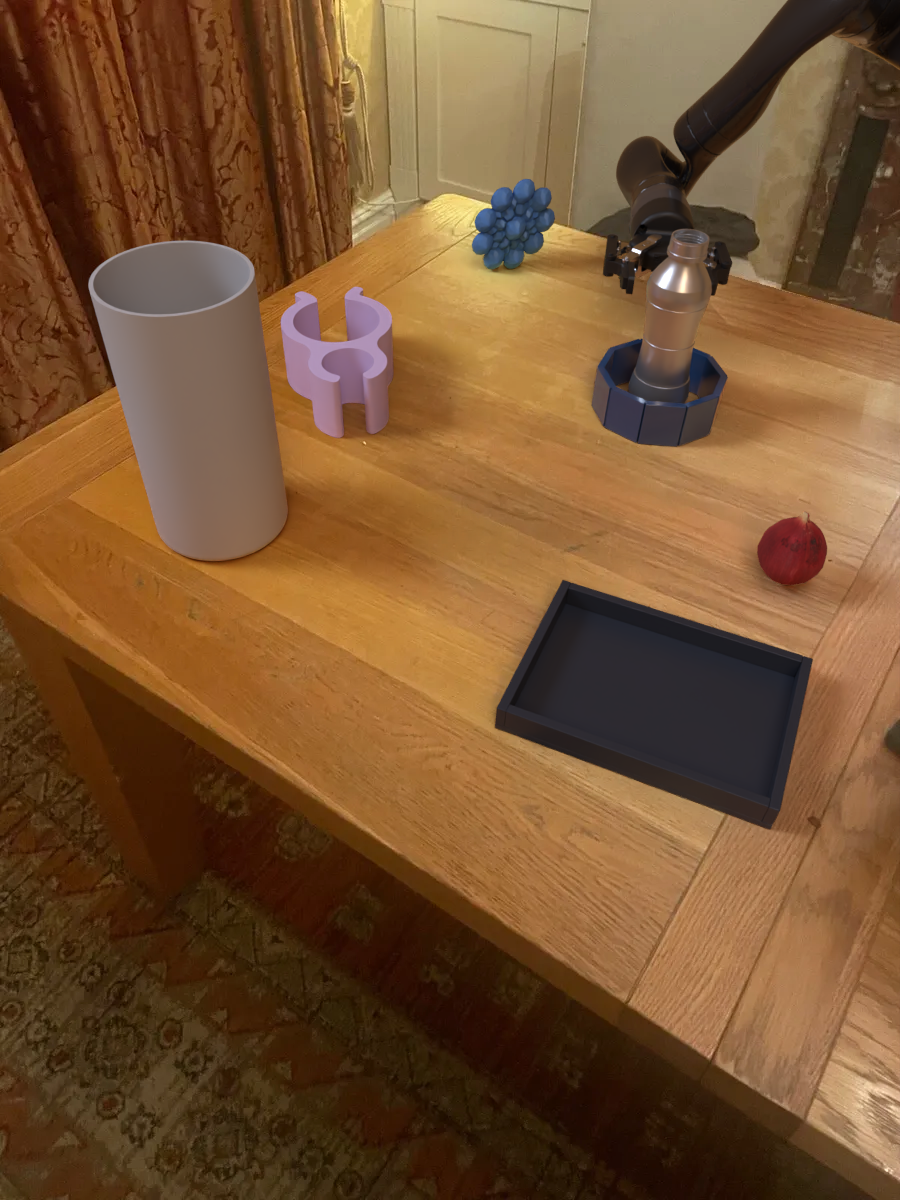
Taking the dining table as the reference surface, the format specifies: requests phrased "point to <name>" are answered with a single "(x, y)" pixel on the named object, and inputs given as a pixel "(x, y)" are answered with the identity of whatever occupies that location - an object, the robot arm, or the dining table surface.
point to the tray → (660, 701)
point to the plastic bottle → (673, 319)
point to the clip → (340, 360)
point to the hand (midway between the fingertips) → (669, 289)
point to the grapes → (513, 224)
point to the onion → (792, 550)
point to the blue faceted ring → (653, 417)
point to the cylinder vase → (195, 393)
